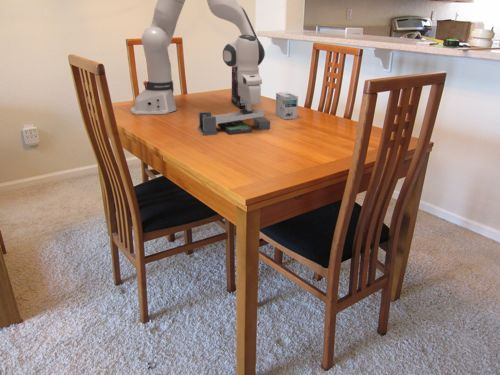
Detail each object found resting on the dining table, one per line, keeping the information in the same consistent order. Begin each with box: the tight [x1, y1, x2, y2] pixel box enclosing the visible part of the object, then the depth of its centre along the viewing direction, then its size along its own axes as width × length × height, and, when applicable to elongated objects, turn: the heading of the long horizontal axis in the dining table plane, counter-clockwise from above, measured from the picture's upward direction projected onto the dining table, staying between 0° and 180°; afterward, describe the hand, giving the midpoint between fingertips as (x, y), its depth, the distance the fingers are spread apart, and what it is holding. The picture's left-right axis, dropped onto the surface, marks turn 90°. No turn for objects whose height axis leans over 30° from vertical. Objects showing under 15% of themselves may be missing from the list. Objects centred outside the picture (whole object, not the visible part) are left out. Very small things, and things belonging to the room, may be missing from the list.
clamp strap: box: [207, 107, 265, 125], centre depth 176 cm, size 25×6×3 cm, turn 107°
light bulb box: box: [275, 91, 299, 120], centre depth 196 cm, size 11×7×11 cm, turn 22°
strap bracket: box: [197, 110, 271, 136], centre depth 177 cm, size 30×11×7 cm, turn 107°
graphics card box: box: [231, 67, 245, 109], centre depth 213 cm, size 17×7×27 cm, turn 17°
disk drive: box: [217, 120, 253, 136], centre depth 178 cm, size 10×3×15 cm
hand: (248, 110), depth 177 cm, fingers closed, pressing on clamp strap
